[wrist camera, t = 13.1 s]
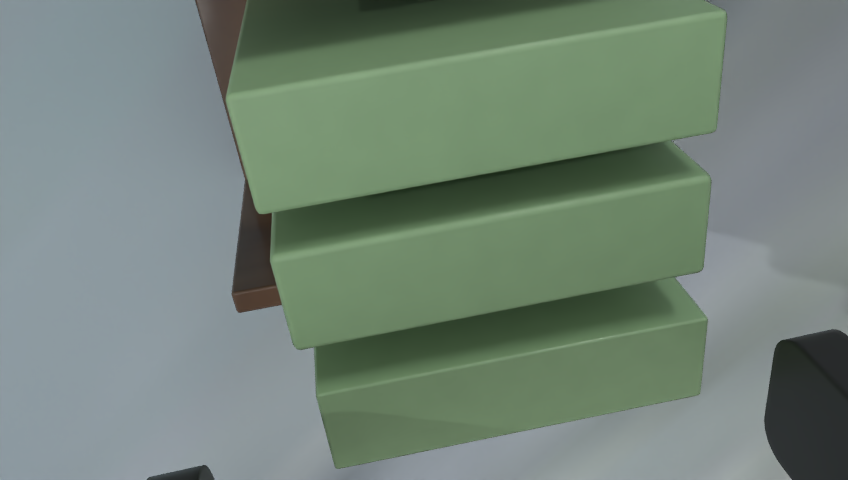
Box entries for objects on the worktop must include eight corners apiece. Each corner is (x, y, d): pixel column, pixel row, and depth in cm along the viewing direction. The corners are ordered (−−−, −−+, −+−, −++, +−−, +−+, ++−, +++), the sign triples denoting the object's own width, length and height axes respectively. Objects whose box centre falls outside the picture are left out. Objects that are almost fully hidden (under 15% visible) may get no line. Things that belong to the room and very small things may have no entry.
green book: (314, 157, 22) (335, 470, 12) (303, 106, 21) (315, 396, 11) (512, 122, 22) (701, 395, 12) (509, 71, 21) (709, 318, 11)
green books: (292, 79, 20) (293, 354, 10) (259, -67, 19) (222, 95, 8) (503, 43, 21) (705, 273, 11) (493, -103, 19) (730, 9, 9)
